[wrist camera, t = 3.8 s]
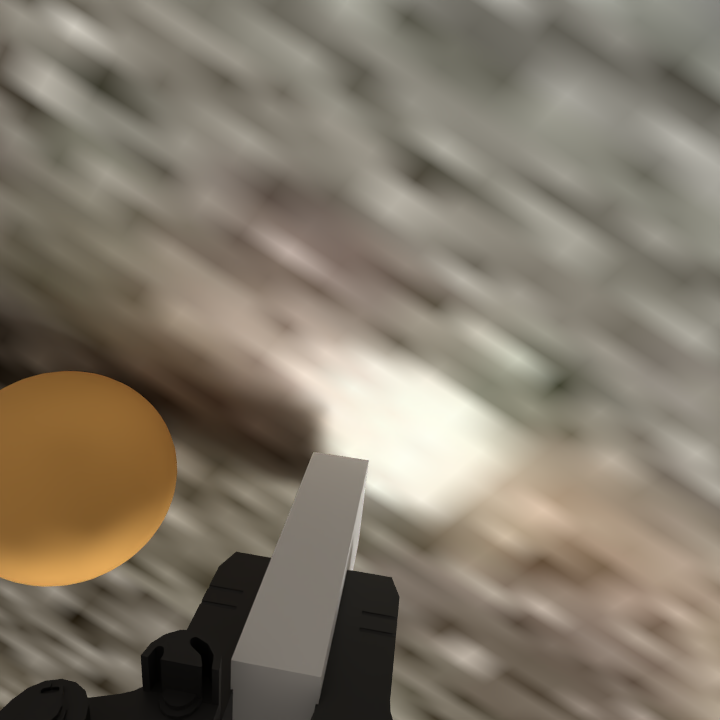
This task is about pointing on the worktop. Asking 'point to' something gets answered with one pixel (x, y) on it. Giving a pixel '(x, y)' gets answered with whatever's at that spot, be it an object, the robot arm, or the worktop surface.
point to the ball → (79, 477)
